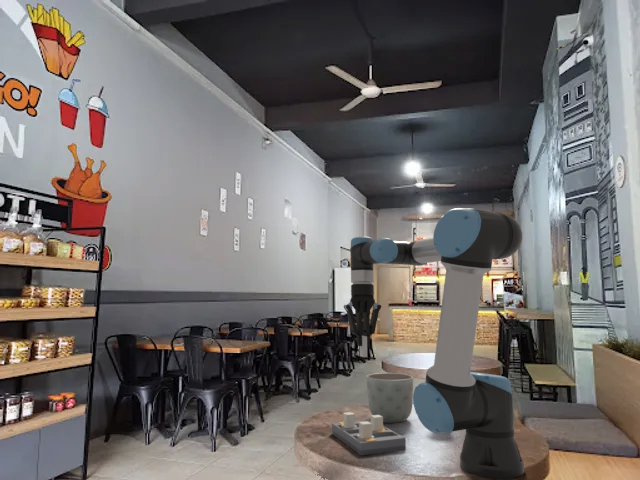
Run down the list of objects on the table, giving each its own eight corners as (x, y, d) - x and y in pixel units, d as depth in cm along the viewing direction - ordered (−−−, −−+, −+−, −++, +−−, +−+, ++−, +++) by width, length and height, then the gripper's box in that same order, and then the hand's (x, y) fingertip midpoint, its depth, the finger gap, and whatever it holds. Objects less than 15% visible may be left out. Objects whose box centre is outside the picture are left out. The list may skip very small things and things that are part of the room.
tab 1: (357, 433, 139) (357, 414, 140) (345, 434, 138) (345, 415, 138) (352, 430, 142) (352, 411, 143) (341, 431, 141) (341, 412, 141)
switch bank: (405, 449, 127) (405, 437, 128) (361, 455, 122) (360, 442, 123) (371, 429, 148) (371, 418, 148) (332, 433, 143) (332, 422, 143)
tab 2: (374, 444, 128) (374, 423, 128) (361, 445, 126) (361, 424, 127) (369, 440, 131) (369, 420, 132) (356, 442, 129) (356, 422, 130)
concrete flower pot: (412, 428, 150) (411, 381, 152) (362, 424, 154) (362, 378, 156) (416, 416, 166) (415, 373, 168) (371, 413, 170) (370, 372, 173)
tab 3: (385, 436, 135) (385, 416, 136) (373, 437, 134) (373, 417, 135) (380, 433, 139) (380, 414, 139) (368, 434, 137) (368, 415, 138)
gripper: (374, 284, 154) (376, 354, 150) (339, 283, 150) (340, 356, 146) (385, 283, 147) (386, 356, 143) (348, 282, 143) (349, 358, 139)
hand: (363, 356), depth 145 cm, fingers closed
